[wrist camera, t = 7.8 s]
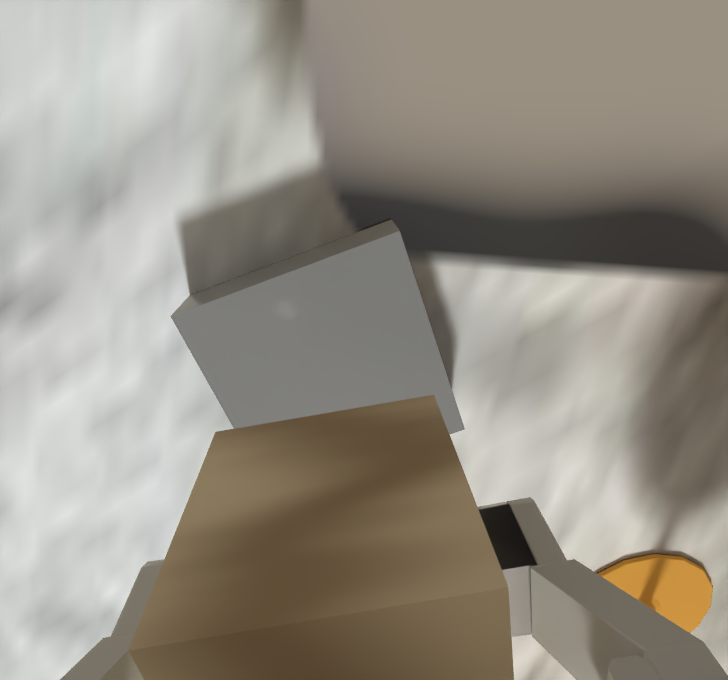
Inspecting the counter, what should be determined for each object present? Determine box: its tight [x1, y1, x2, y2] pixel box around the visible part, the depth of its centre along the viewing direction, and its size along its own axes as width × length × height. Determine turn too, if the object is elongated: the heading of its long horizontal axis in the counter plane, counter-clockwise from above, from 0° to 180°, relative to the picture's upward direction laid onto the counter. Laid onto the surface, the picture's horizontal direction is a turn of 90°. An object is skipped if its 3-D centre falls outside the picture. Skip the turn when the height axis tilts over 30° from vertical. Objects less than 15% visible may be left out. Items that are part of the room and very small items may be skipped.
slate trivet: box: [171, 218, 464, 434], centre depth 20 cm, size 9×9×3 cm
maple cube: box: [128, 395, 514, 680], centre depth 9 cm, size 5×5×5 cm
